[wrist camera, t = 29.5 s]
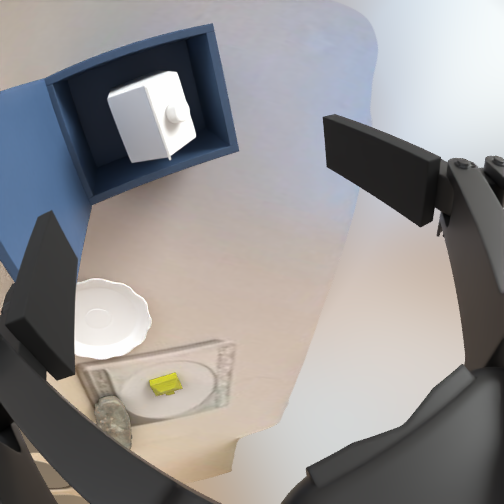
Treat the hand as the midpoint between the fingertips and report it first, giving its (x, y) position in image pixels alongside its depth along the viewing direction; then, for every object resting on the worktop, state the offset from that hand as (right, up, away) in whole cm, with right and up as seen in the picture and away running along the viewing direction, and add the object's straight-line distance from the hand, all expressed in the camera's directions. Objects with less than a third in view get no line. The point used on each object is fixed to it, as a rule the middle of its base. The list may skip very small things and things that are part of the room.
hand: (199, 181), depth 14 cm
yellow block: (-19, -36, +61) cm, 73 cm away
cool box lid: (-14, +3, +7) cm, 16 cm away
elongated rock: (-37, -52, +63) cm, 90 cm away
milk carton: (-13, +18, +26) cm, 34 cm away
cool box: (-14, +18, +26) cm, 35 cm away
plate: (-27, -16, +43) cm, 53 cm away
